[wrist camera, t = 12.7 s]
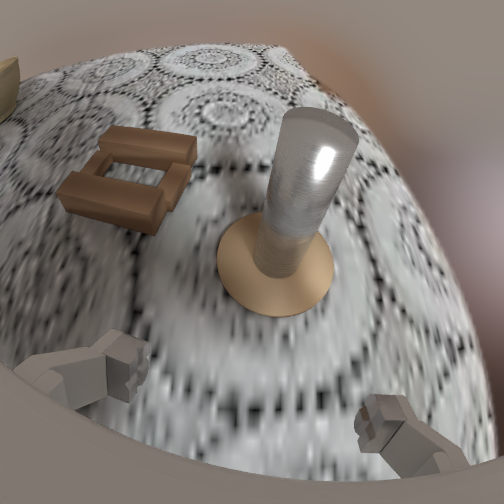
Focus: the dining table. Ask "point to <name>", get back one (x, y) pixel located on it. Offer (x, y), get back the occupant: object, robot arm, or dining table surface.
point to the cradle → (127, 193)
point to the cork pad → (266, 288)
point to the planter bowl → (8, 86)
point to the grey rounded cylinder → (301, 186)
